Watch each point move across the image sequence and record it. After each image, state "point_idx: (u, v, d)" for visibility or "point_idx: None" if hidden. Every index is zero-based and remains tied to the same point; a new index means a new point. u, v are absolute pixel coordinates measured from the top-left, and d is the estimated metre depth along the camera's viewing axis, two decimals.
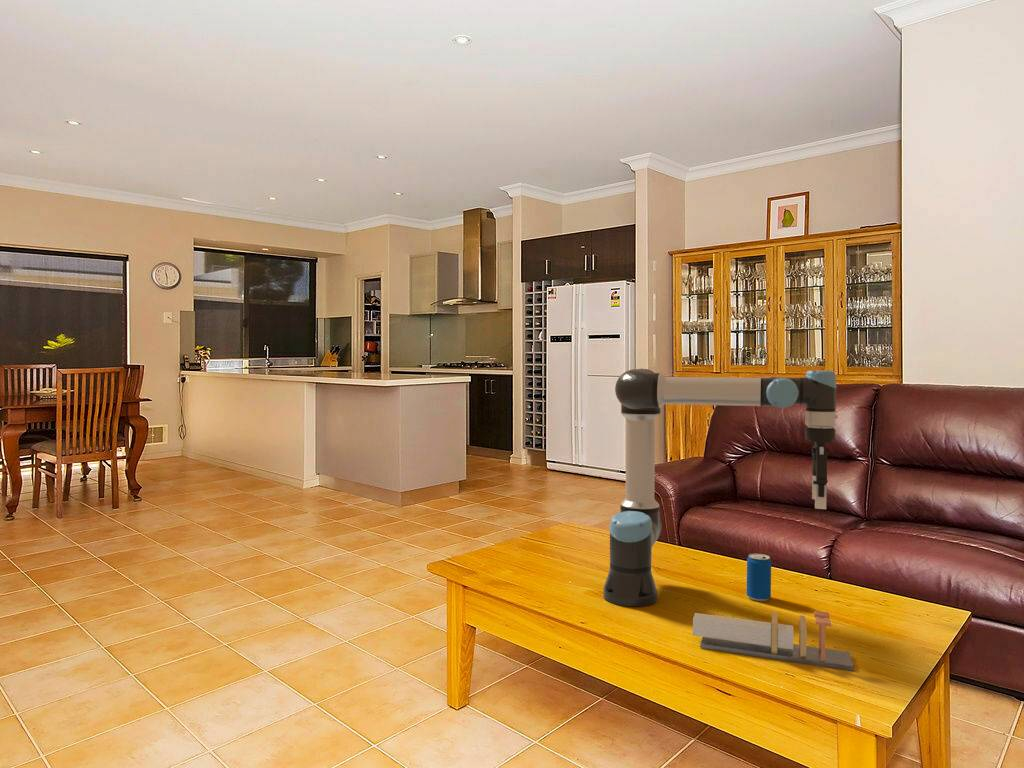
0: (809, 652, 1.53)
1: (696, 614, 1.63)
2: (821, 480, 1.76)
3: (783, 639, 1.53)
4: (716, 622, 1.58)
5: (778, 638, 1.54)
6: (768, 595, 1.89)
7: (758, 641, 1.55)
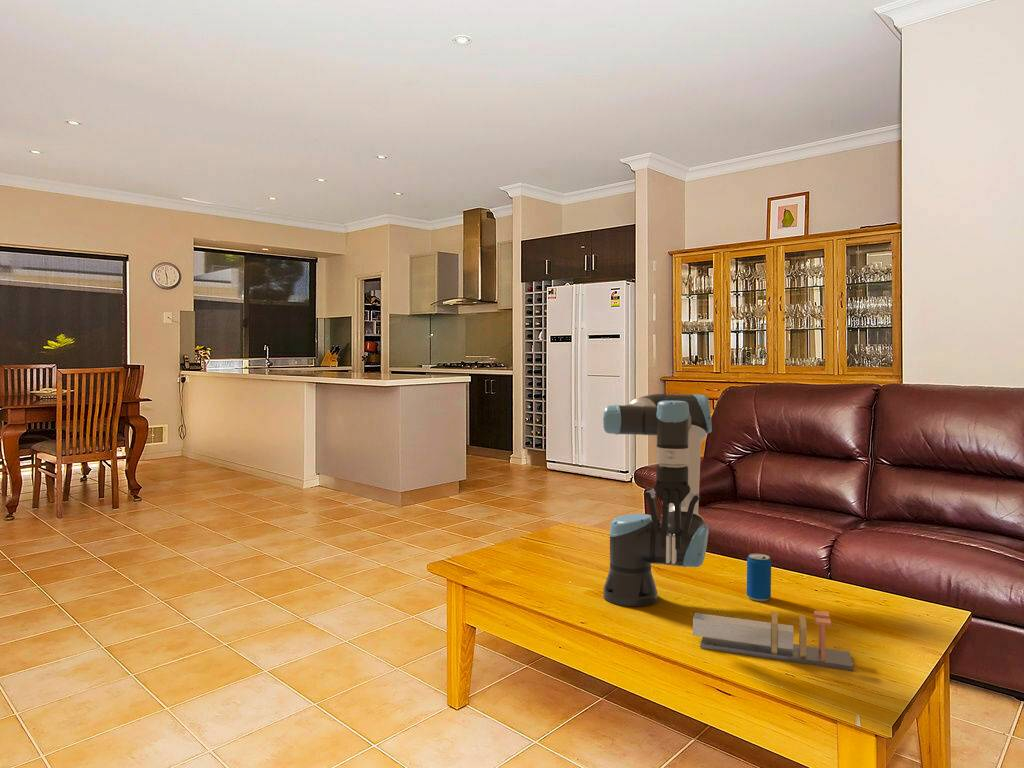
0: (809, 652, 1.53)
1: (696, 614, 1.63)
2: None
3: (783, 639, 1.53)
4: (716, 622, 1.58)
5: (778, 638, 1.54)
6: (768, 595, 1.89)
7: (758, 641, 1.55)
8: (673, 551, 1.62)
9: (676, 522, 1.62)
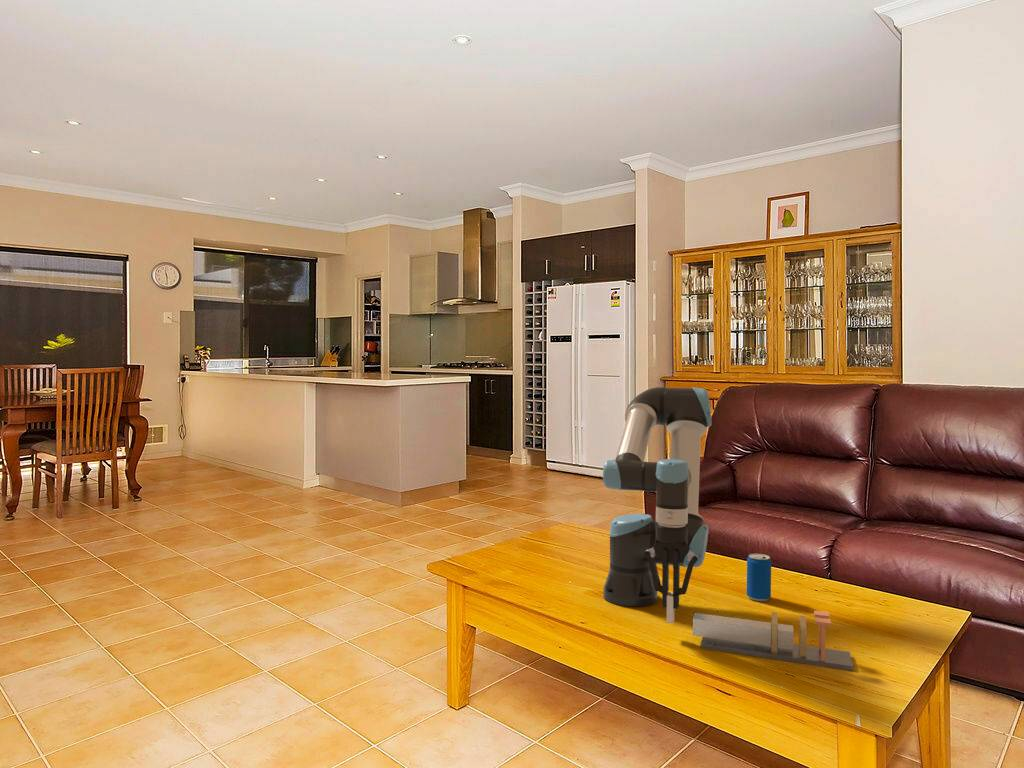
0: (809, 652, 1.53)
1: (696, 614, 1.63)
2: None
3: (783, 639, 1.53)
4: (716, 622, 1.58)
5: (778, 638, 1.54)
6: (768, 595, 1.89)
7: (758, 641, 1.55)
8: (671, 610, 1.63)
9: (674, 582, 1.62)
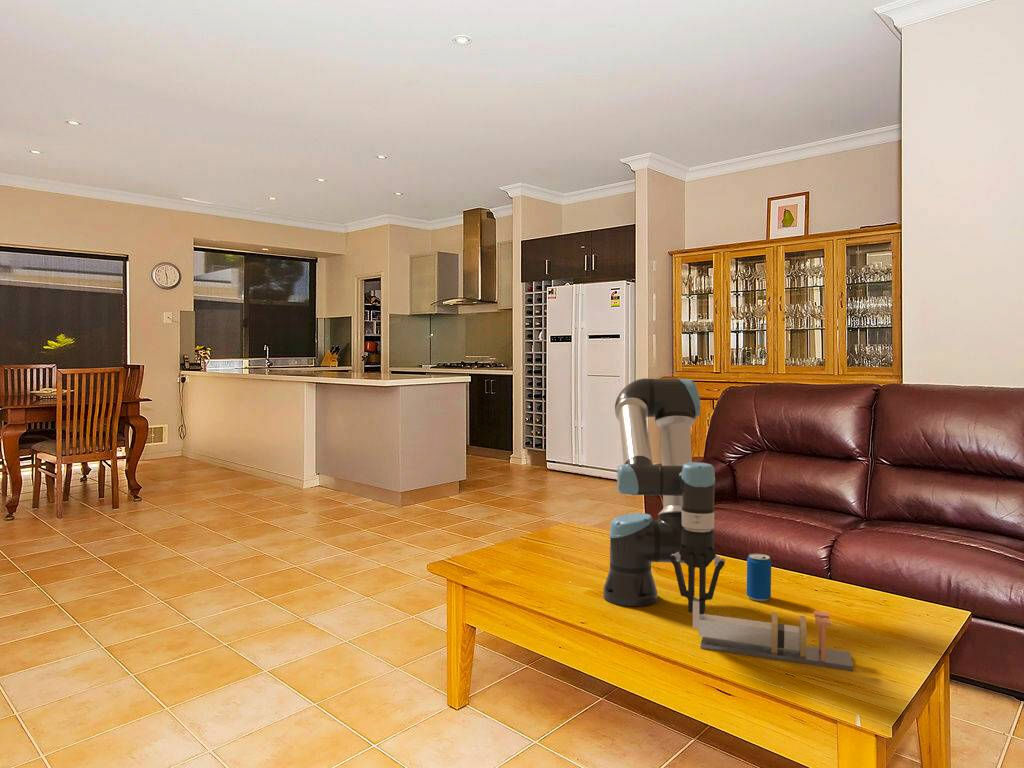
0: (809, 652, 1.53)
1: (702, 615, 1.62)
2: None
3: (789, 640, 1.53)
4: (722, 623, 1.58)
5: (785, 639, 1.53)
6: (768, 595, 1.89)
7: (764, 642, 1.55)
8: (697, 616, 1.60)
9: (700, 587, 1.60)
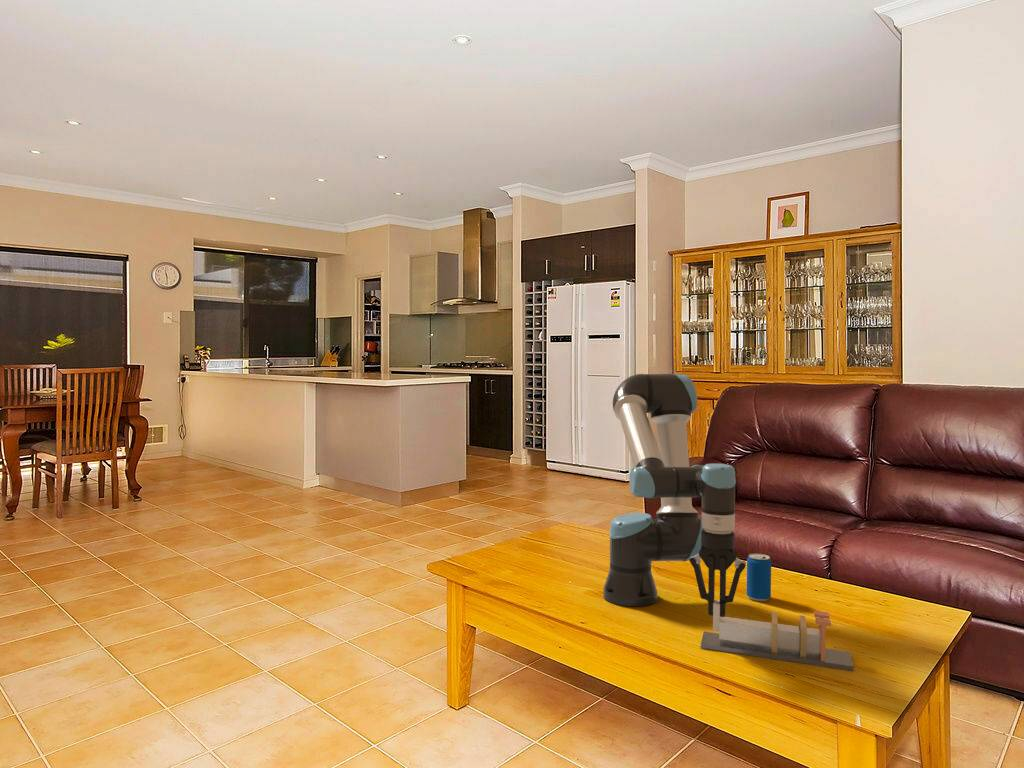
0: (809, 652, 1.53)
1: (722, 617, 1.61)
2: None
3: (812, 643, 1.51)
4: (743, 626, 1.56)
5: (807, 642, 1.51)
6: (768, 595, 1.89)
7: (786, 645, 1.53)
8: (717, 619, 1.59)
9: (721, 589, 1.58)
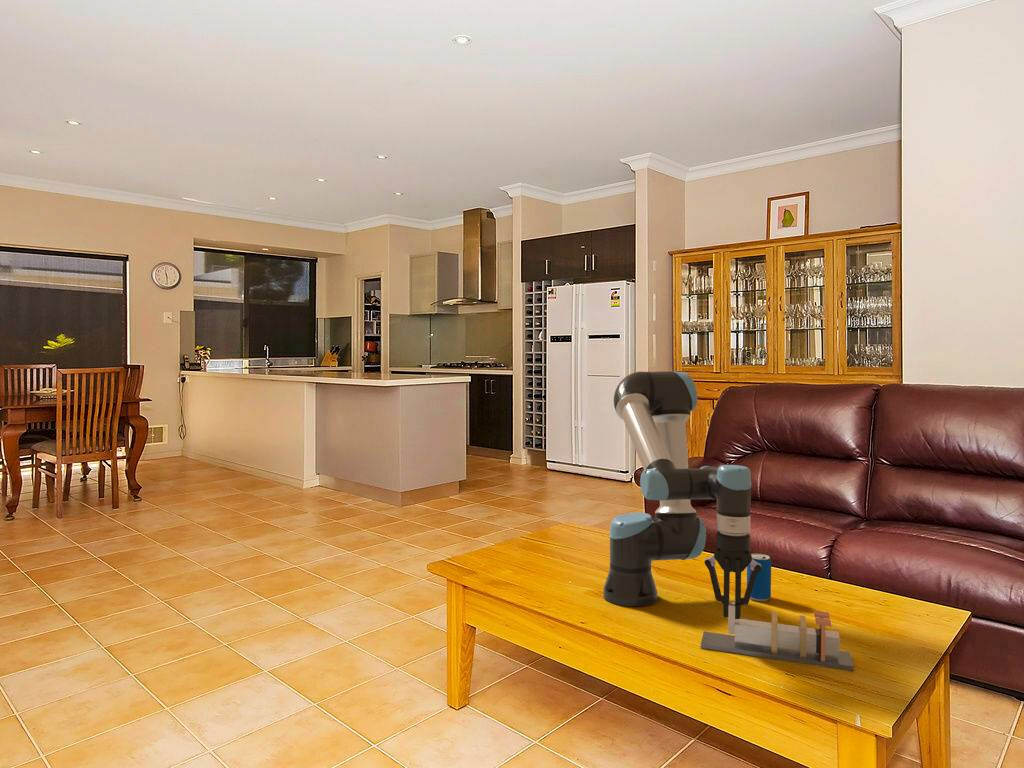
0: (809, 652, 1.53)
1: (737, 619, 1.60)
2: None
3: (828, 645, 1.50)
4: (759, 628, 1.55)
5: None
6: (768, 595, 1.89)
7: None
8: (733, 621, 1.58)
9: (736, 591, 1.57)
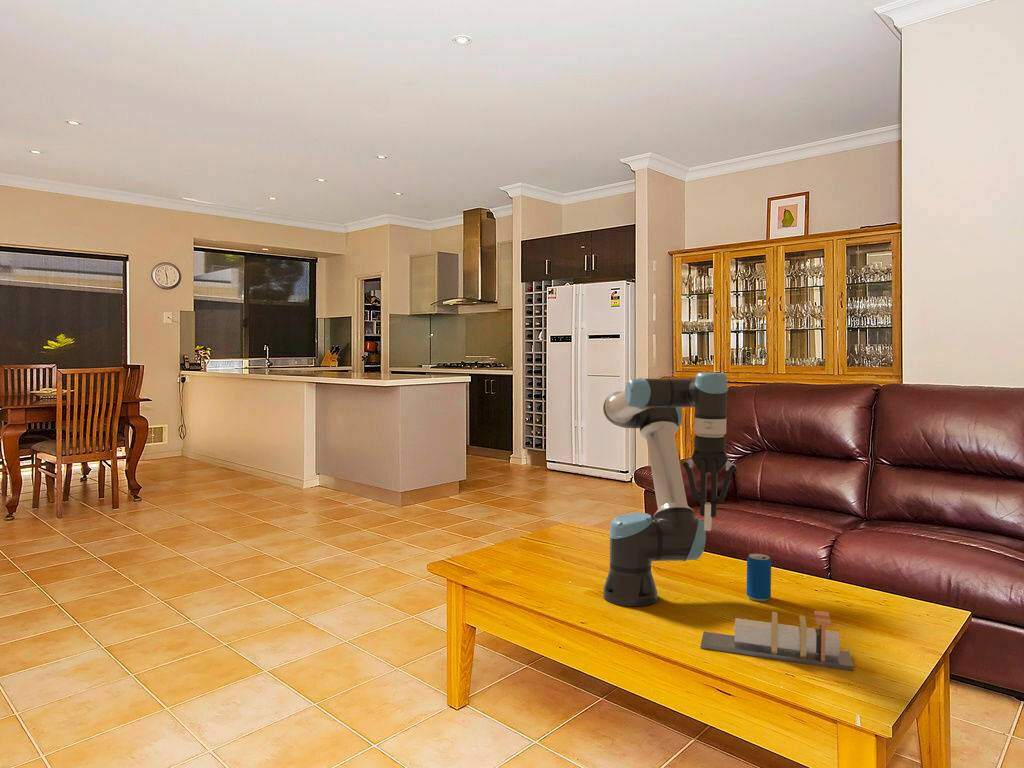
0: (809, 652, 1.53)
1: (737, 619, 1.60)
2: None
3: (828, 645, 1.50)
4: (759, 628, 1.55)
5: None
6: (768, 595, 1.89)
7: None
8: (709, 519, 1.67)
9: (712, 491, 1.66)
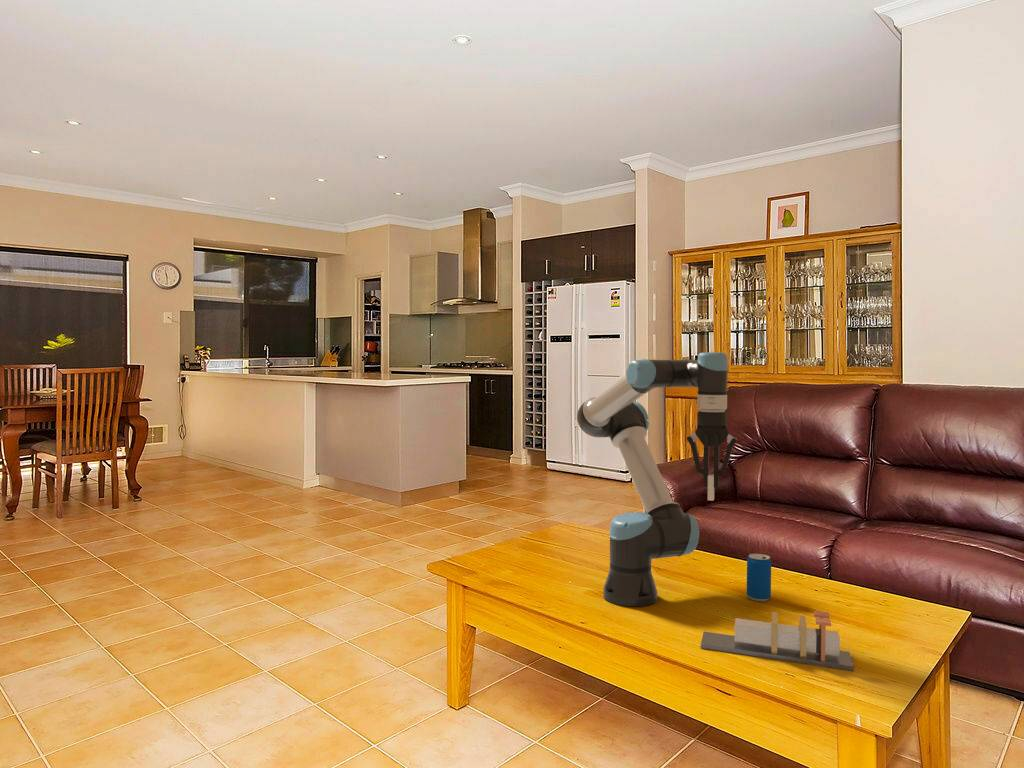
0: (809, 652, 1.53)
1: (737, 619, 1.60)
2: None
3: (828, 645, 1.50)
4: (759, 628, 1.55)
5: None
6: (768, 595, 1.89)
7: None
8: (712, 489, 1.78)
9: (715, 463, 1.78)
